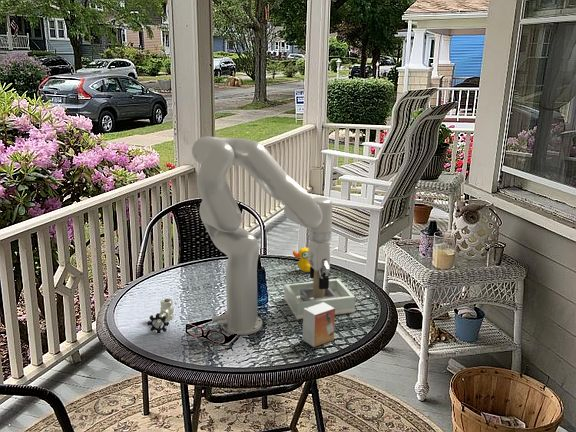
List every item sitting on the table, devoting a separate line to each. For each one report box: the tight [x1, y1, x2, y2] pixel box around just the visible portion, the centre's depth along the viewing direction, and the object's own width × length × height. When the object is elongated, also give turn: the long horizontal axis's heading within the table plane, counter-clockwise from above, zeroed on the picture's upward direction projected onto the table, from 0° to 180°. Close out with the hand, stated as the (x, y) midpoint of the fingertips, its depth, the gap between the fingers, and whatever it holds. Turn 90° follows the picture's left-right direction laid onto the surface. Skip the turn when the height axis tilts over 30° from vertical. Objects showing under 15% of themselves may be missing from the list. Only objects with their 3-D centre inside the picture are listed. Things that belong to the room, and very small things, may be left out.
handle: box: [310, 260, 325, 299], centre depth 180 cm, size 5×6×15 cm
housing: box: [283, 278, 356, 320], centre depth 181 cm, size 20×16×6 cm
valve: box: [147, 297, 175, 334], centre depth 168 cm, size 7×7×12 cm
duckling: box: [292, 247, 310, 273], centre depth 210 cm, size 11×5×10 cm, turn 95°
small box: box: [302, 302, 336, 348], centre depth 158 cm, size 8×6×10 cm
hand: (319, 283), depth 180 cm, fingers open, 9 cm apart
